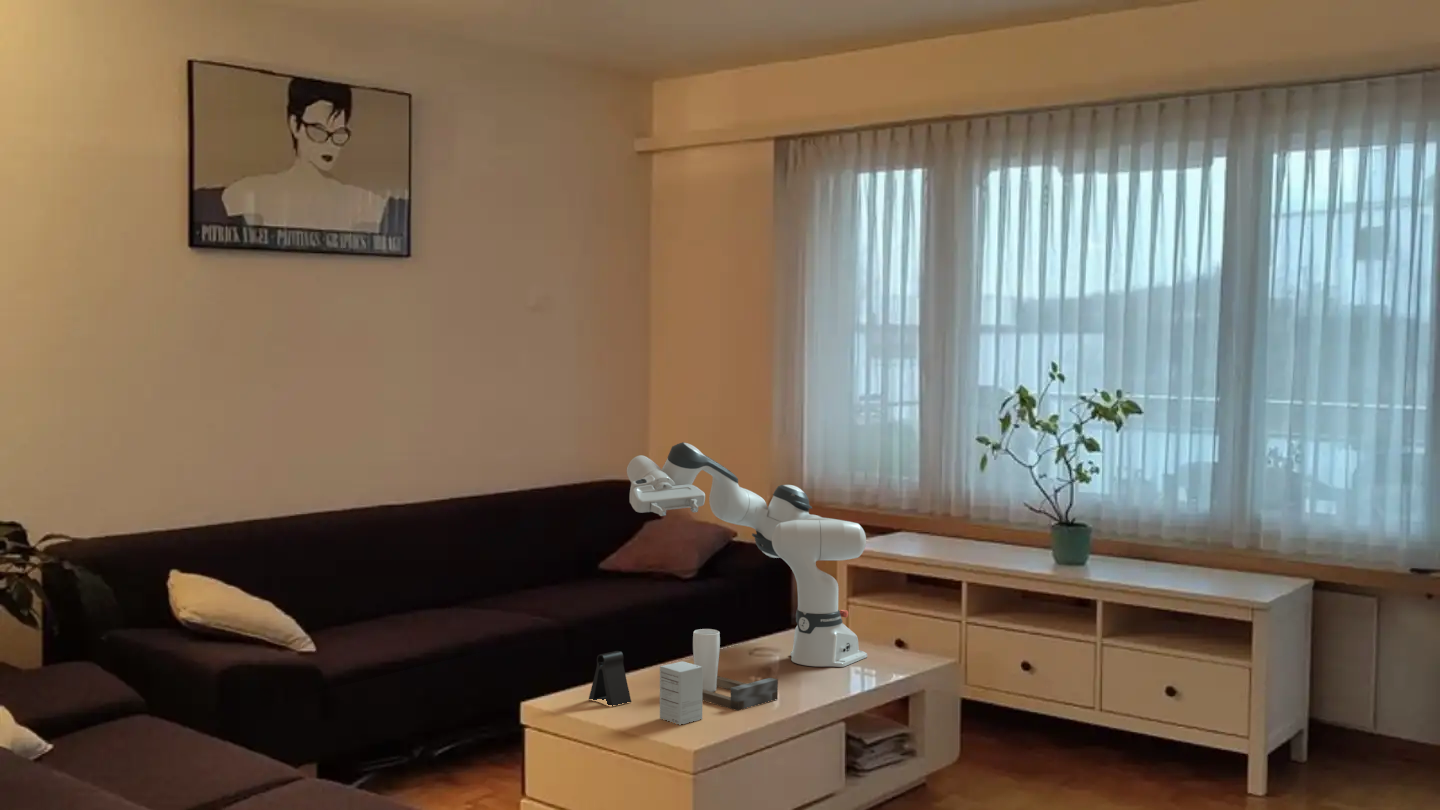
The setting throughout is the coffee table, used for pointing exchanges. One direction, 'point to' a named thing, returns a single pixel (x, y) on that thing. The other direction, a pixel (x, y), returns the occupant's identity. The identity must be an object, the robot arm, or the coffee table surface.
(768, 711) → the coffee table surface
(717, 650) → the drinking glass
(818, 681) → the coffee table surface
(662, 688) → the supplement box
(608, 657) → the phone stand
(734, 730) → the coffee table surface
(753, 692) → the guide track
